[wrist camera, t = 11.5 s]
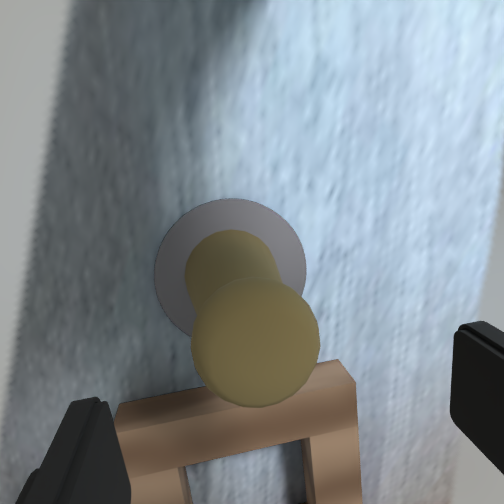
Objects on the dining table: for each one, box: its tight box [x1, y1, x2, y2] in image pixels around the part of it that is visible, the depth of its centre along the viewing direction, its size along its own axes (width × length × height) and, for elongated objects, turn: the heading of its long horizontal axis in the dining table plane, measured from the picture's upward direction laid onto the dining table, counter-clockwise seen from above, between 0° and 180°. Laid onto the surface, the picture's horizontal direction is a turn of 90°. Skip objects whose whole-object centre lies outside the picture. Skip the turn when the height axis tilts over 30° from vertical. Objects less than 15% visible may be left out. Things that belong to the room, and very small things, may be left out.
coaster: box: [154, 199, 306, 337], centre depth 24 cm, size 10×10×1 cm
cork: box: [184, 229, 320, 408], centre depth 18 cm, size 6×6×11 cm
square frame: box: [114, 359, 362, 504], centre depth 27 cm, size 16×16×3 cm
